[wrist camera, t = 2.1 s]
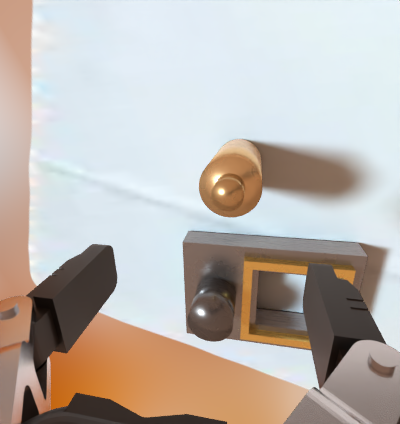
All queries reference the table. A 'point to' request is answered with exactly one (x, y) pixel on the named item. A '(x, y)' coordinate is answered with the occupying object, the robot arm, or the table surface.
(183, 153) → the table surface
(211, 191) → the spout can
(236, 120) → the table surface
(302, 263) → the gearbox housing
